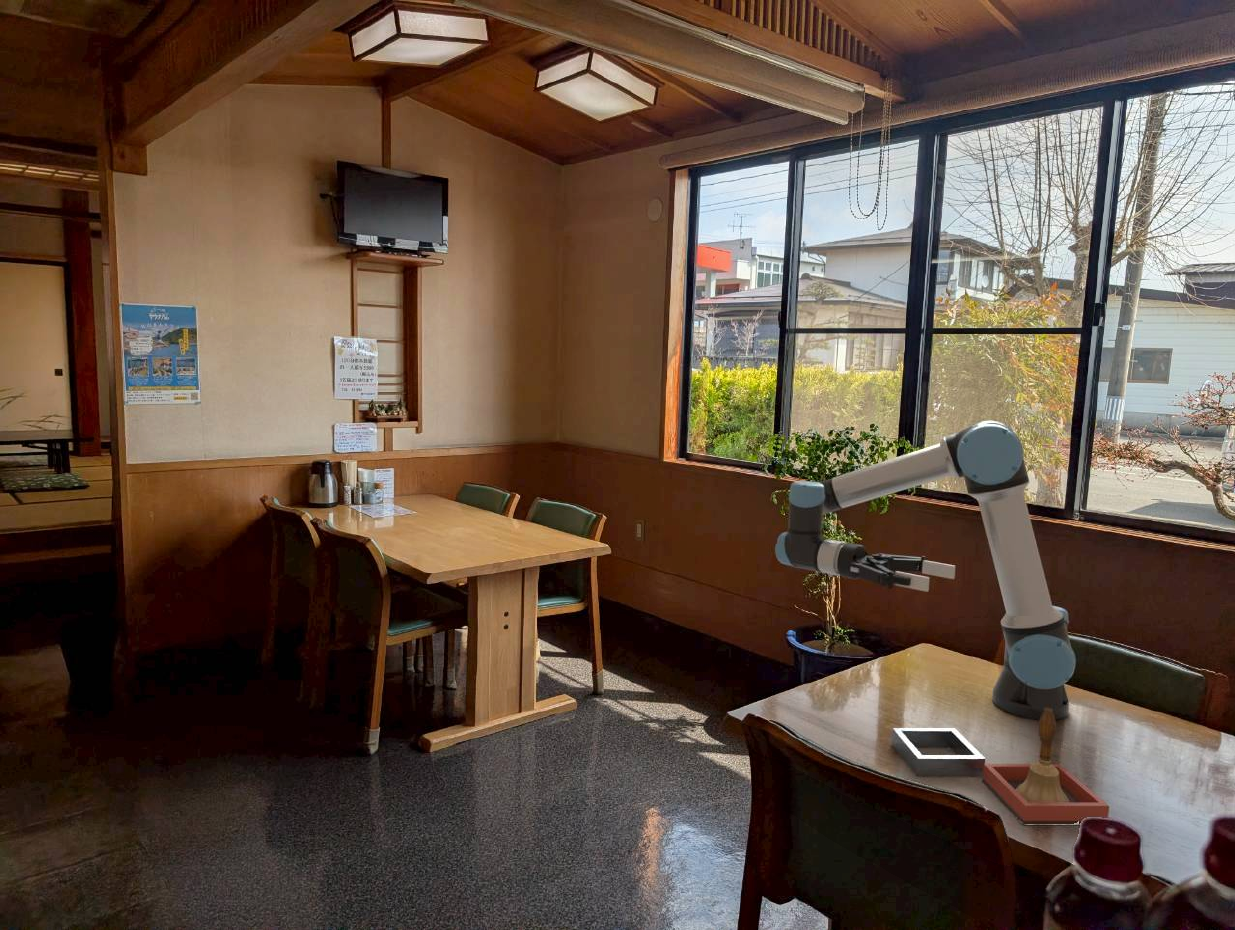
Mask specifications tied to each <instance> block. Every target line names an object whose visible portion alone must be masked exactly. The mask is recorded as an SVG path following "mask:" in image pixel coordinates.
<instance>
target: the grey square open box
mask: <svg viewBox="0 0 1235 930" xmlns="http://www.w3.org/2000/svg"><path fill="white" fill-rule="evenodd" d="M891 746H892V748H893V749H894V750H895V752H896V753H897V754H898V755H899V757H900V758H901V759H902V760H903V762H905V765H907V767H908V768H909V769H910V770H911V772H913V774H914V775H915V776H916V777H917V778H922V777H923V778H925V777H927V778H929V777H930V778H937V777H938V778H940V777H941V778H942V777H943V778H946V777H947V778H948V777H949V778H951V777H952V778H959V777H960V778H965V777H966V778H968V777H969V778H970V777H971V778H976V777H977V778H978V777H979V778H983V767H984V764H986V758H985V757H984V756H983V754H981V753H980V751H978V750H977V748H975V747H974V745H972V744H971V743H970V742H969V741H968V740H967V739H966V738H965V737H964V736H963V735H962V734H961V733H960V732H959V731H958V730H957V729H956V728H953V727H952V728H950V727H949V728H948V727H946V728H944V727H943V728H942V727H939V728H938V727H937V728H933V727H928V728H927V727H925V728H924V727H918V728H917V727H910V728H909V727H892V730H891ZM918 749H951V751H952V752H953V753H954V754H953V755H951V754H950V755H949V754H946V755H945V754H944V755H943V754H941V755H939V754H938V755H937V754H936V755H934V754H933V755H931V754H929V755H928V754H927V755H923V754H922V753H921V752H920V751H919V750H918Z"/></svg>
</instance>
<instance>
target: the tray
mask: <svg viewBox="0 0 1235 930" xmlns="http://www.w3.org/2000/svg"><path fill="white" fill-rule="evenodd" d="M1031 764H1032V763H985V764H984V767H983V777H981V778H982V780H981V781H982V783H983V785H984V786H986V788H988V790H989V791H991V792H992V794H993V795H994V796H995V797H996V798H997V799H998V800H999V801H1000V802H1001V803H1002V804H1003V805H1004V807H1006V809H1008V811H1010V813H1011V814H1012V815H1013V816H1014V815H1015V816H1014V817H1015V818H1016V817H1017V818H1016V819H1017V820H1018V821H1019V820H1020V821H1021V822H1022V823H1023V824H1074V823H1077V822H1078V821H1079V824H1080V823H1081V821H1082V820H1083V819H1084V818H1087V817H1102V818H1108V819H1109V812H1110V811H1109V810H1110V805H1109V804H1108V803H1107V802H1105V801H1104V800H1103V799H1102V798H1101V797H1100V796H1098V795H1097V794H1096V793H1095V792H1094V791H1092V789H1090V788H1089V787H1088V786H1087V785H1085V784H1084V783H1083V782H1082V781H1081V780H1079V779H1078V778H1077V777H1076V776H1074V775H1073V774H1072V773H1071V772H1070V771H1069V770H1067V768H1065V767H1064V766H1062V765H1061V764H1060V763H1051V765H1052V766H1054V767H1055V768H1056V769H1057V770H1058V771H1059V780H1060V786H1061V789H1062V791H1063V793H1064V794H1065V795H1066V796H1067V798H1068V800H1069V803H1028V802H1027V801H1026V800H1025V799H1024V798H1023V797H1022V796H1021V795H1020V794H1019V793H1018V792H1017V791H1016V788H1017V787H1018V786H1019V785H1020V784H1023V783H1024V781H1025V780H1026V778H1027V776H1028V773H1029V769H1030V766H1031ZM1020 821H1019V822H1020ZM1021 822H1020V823H1021ZM1022 823H1021V824H1022ZM1023 824H1022V825H1023Z"/></svg>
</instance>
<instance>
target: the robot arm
mask: <svg viewBox="0 0 1235 930" xmlns="http://www.w3.org/2000/svg"><path fill="white" fill-rule="evenodd" d="M951 476H952V477H954V478H957V479H960V478H963V479H964V482H965V487H966V490H967V495H968V496H970V497H972V498H974V499H976V500H977V502H978V505H979V510H980V513H981V514H980V515H981V518H982V522H983V525H984V529H985V533H986V537H987V541H988V545H989V550H990V552H991V557H992V561H993V565H994V569H995V574H996V575H997V576H996V577H997V581H998V584H999V588H1000V592H1001V596H1002V600H1003V605H1004V609H1005V614H1004V616H1003V617H1002V619H1001V620H1000V625H1001V628H1002V633H1003V637H1004V641H1005V646H1004V648H1005V649H1004V660H1003V666H1002V670H1001V672H1000V674H999V676H998V677H997V679H996V683H995V685H994V687H993V688H992V694H991V695H992V696H991V700H992V702H993V704H994V705H996V706H997V707H998V708H1000V709H1001V710H1003V711H1005V712H1007V713H1010V714H1013V715H1015V716H1016V715H1017V716H1019V717H1023V718H1027V719H1034V720H1039V721H1040V718H1041V716H1042V714H1043V711H1044V708H1051V709H1053V714H1054V717H1055V721H1056V720H1062V719H1064V718H1067V717H1068V715H1069V708H1070V701H1069V697H1068V695H1067V690H1066V686H1065V684H1066V683H1067V682H1068V681H1069V680H1070V679H1071V677H1072V676H1073V674H1074V673H1075V669H1076V663H1077V662H1076V661H1077V660H1076V659H1077V658H1076V653H1075V652H1074V650H1073V648H1072V645H1071V642H1070V636H1069V633H1068V625H1069V623H1070V621H1069V612H1068V610H1066V609H1065V608H1063V607H1060V606H1055V605H1053V604H1052V600H1051V595H1050V592H1049V587H1048V584H1047V580H1046V579H1047V578H1046V576H1045V572H1044V568H1043V565H1042V559H1041V556H1040V552H1039V548H1038V545H1037V540H1036V537H1035V532H1034V529H1033V525H1032V519H1031V517H1030V512H1029V509H1028V504H1027V502H1026V501H1027V500H1026V498H1025V493H1024V492H1025V490H1026V488H1027V487H1028V486H1029V484H1030V478H1029V475H1028V470H1027V466H1026V463H1025V458H1024V449H1023V444H1022V443H1021V440H1020V438H1019V436H1018V435H1017V433H1015V431H1014V430H1013V429H1012V428H1011V427H1009V426H1008V425H1007V424H1005V423H1003V422H1000V421H996V420H982V421H979V422H976V423H974V424H972V425H970V426H968V427H966V428H965V429H962V430H960V431H958V432H957V431H956V432H955V433H952V434H949V435H946V436H944V437H942V439H941V442H939V443H936V444H933V445H931V446H927V447H924V448H921V449H919V450H918V449H917V450H916V451H912V452H909V453H906V454H902V455H900V456H896V457H893V458H890V459H886V460H883V461H881V462H878V463H874V464H872V465H869V466H865V467H862V468H860V469H857V470H853V471H850V472H847V473H844V474H841V475H838V476H834V477H833V478H830V479H829V478H828V479H825V480H823V481H810V480H809V481H808V480H806V481H805V480H804V481H803V480H799V481H794V482H792V483H791V484H790V491H789V496H788V500H789V501H788V502H789V503H788V526H787V527H788V528H787V531H785V532H782V533H780V535H779V536H778V537H777V539H776V540H777V541H776V544H775V549H774V553H775V557H776V559H777V560H778V562H780V564H783V565H786V566H790V567H793V568H796V569H801V570H802V569H803V570H808V571H813V572H818V573H823V574H827V575H828V577H829V578H830V577H831V578H832V577H833V576H836V577H837V576H839V577H840V576H841V577H842V578H847V579H852V580H854V581H855V580H859V579H863V580H866V581H869V582H871V583H874V584H876V585H879V586H881V587H886V588H887V589H891V590H892V589H894V586H897V587H902V588H905V589H907V588H908V589H912V590H917V591H921V592H925V593H926V592H927V593H928V592H929V591H930V589H929V588H930V578H931V577H929V576H935V577H941V578H944V579H949V580H950V579H951V580H955V578H956V576H955V575H956V565H954V564H953V565H952V564H947V563H943V562H942V563H941V562H937V561H933V560H932V561H930V560H926V556H925V555H921V557H920V556H912V555H911V556H909V555H908V556H907V555H897V554H887V553H886V554H885V553H882V552H879V553H877V554H876V553H874V554H873V553H872V554H871V555H869V554H868V552H867V549H866V547H865V546H864V545H862V544H857V543H853V542H852V543H851V542H845V541H840V540H836V539H835V540H834V539H831V538H825V537H824V538H823V526H824V525H823V524H824V523H823V522H824V515H826V514H829V513H833V512H837V511H839V510H842V509H845V508H848V507H851V506H854V505H858V504H862V503H865V502H868V501H872V500H874V499H879V498H881V497H886V496H887V495H889V496H890V495H892V494H895V493H898V492H901V491H904V490H909V489H911V488H914V487H917V486H921V485H925V484H928V483H931V482H934V481H938V480H941V479H942V480H943V479H945V478H948V477H951ZM908 572H921V573H922V574H923V575H918V574H912V573H908ZM924 574H925V576H924ZM926 575H929V576H926Z"/></svg>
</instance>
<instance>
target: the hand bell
mask: <svg viewBox="0 0 1235 930" xmlns="http://www.w3.org/2000/svg"><path fill="white" fill-rule="evenodd" d="M1056 730H1057V723H1056V720H1055V717H1054V714H1053V709H1051V708H1044V711H1043V714H1042V716H1041V718H1040V720H1039V722H1038V734H1039V735H1038V736H1039V739H1040V748H1039V749H1040V750H1039V761H1037V762H1033V763H1030V764H1031V766H1030V769H1029V773H1028V776H1027V778H1026V780H1025V781H1024V783H1023V784H1020V785H1019V786H1018V787H1017V788H1016V791H1017V792H1018V793H1019V794H1020V795H1021V796H1022V797H1023V798H1024V799H1025V800H1026V801H1027V802H1028V803H1069V800H1068V798H1067V796H1066V795H1065V794H1064V793H1063V791H1062V789H1061V786H1060V780H1059V771H1058V770H1057V769H1056V768H1055V767H1054V766H1052V765H1051V764H1052V761H1051V760H1052V759H1051V756H1052V753H1051V751H1052V743H1053V741H1054V739H1055V736H1056Z"/></svg>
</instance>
